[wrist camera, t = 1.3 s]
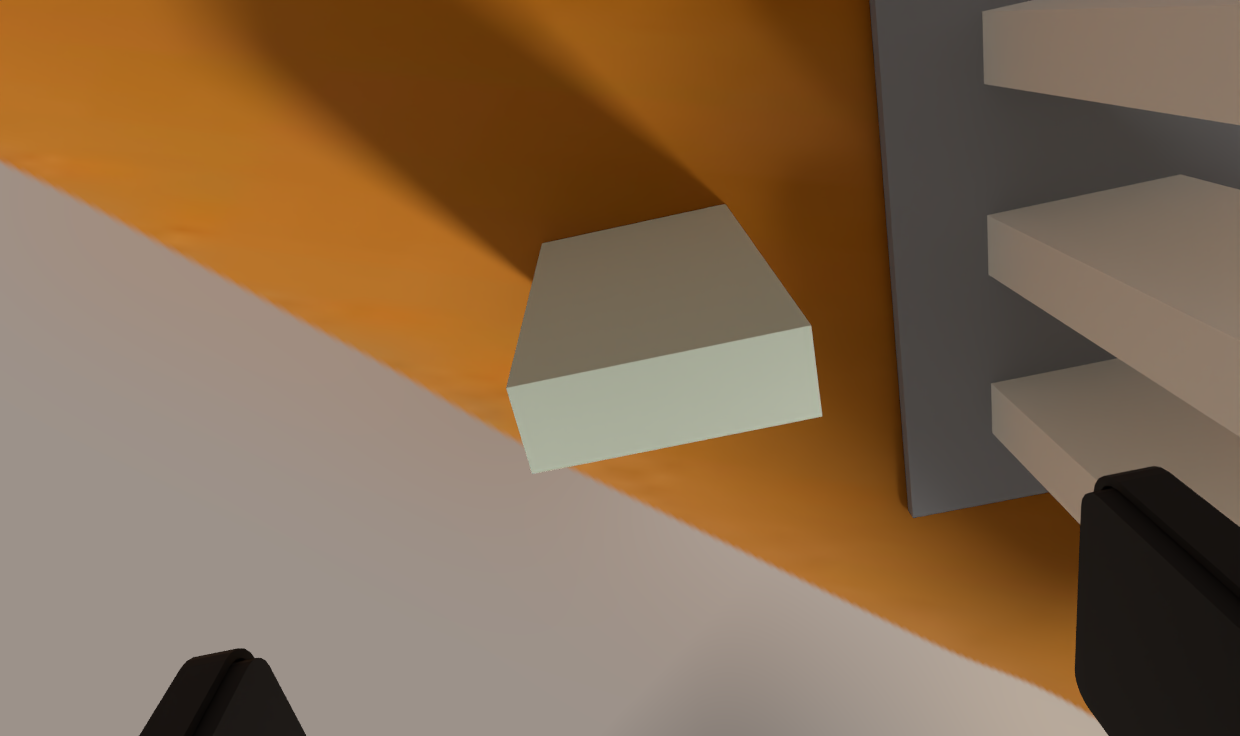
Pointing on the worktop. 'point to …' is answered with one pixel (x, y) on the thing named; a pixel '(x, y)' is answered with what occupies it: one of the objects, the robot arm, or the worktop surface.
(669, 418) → the domino
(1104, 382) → the domino
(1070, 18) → the domino
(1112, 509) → the robot arm
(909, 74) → the mat
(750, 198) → the worktop surface
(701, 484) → the worktop surface
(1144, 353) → the domino
